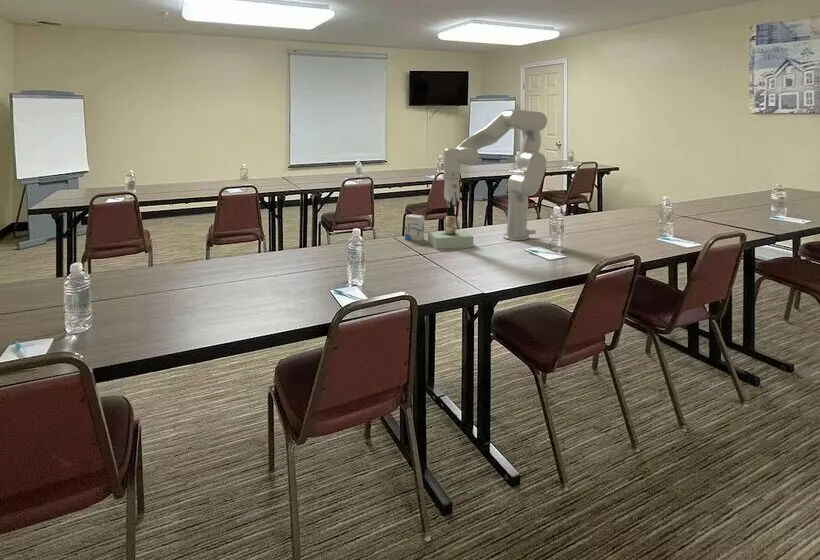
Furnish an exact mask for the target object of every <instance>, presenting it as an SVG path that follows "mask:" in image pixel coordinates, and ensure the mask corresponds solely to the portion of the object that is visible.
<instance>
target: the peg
mask: <svg viewBox="0 0 820 560" xmlns="http://www.w3.org/2000/svg"><path fill="white" fill-rule="evenodd" d="M456 223H457V217H456V216H455V215H454V216H447V215H446V216H445V226H444V227H445V228H444V229H445V230H444V231H445V234H446V235H455V234H456V229H457V226H456V225H457V224H456Z"/></svg>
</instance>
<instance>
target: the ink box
mask: <svg viewBox="0 0 820 560" xmlns="http://www.w3.org/2000/svg"><path fill="white" fill-rule="evenodd" d="M425 217H426V216H425V215H420V214H412V213H410V214H408V215H405V219H404V220H405V221H404V240H408V241H410V240H411V241H416V242H422V241H423V240H424V239H425Z"/></svg>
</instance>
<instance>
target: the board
mask: <svg viewBox="0 0 820 560" xmlns="http://www.w3.org/2000/svg"><path fill="white" fill-rule="evenodd" d="M427 243H428V244H430V245H431V246H432V247H433V248H434V249H435V250H436V249H437V250H438V249H439V250H440V249H455V248H456V249H457V248H460V249H461V248H473V247H474V235H472V234H471V233H469V232H468V231H466V230H465V229H462V230H461V229H460V230H458V229H457V230H456V234H455V235H446V234H445V230H438V231H427Z"/></svg>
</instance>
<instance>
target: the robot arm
mask: <svg viewBox="0 0 820 560" xmlns="http://www.w3.org/2000/svg"><path fill="white" fill-rule="evenodd" d="M547 124H548V118H547V116H546V115H545V113H543V112H542V111H531V110H525V109H524V110H523V109H504V110H503V111H502V112H501V113H499V114H498V115H497V116H496V117H495V118H493V120H492V121H490V122H488V124H487V125H486V126H484V128H481V129H480V130H478V131H477V132H476V133H474V134H472V135H470V136H469V137H467V138H466V139H464V140H463V141H462V142H461V144H459V145H457V147H447V148H444V151H443V180H444V188H443V198H444V200H445V201H446V217H447V216H454V217H455V208H456V205H457V204H456V202H460V200H461V199H460V196H461V195H460V180H461V179H460V178H461V165H469V166H471V165H474V164H476V163H477V162H478V161H479V158H480V155H479V152H478V151H479V150H480V149H482V148H485V147H489V146H492V145H493V144H496V143H497V142H498V141H499V140H500V139H502V138H503V137H504V136H505V134H507V133H508V132H510V130H520V131H521V133H522V134H521V135H522V143H521V146H520V150H519V153H518V156H517V160H516V167H517V168H518V169H519V171H522V172H525V173H521V172H517V173H513V174H511V175H510V176H509V178H508V180H507V192H508V194H507V195H508V200H507V202H508V203H507V204H508V206H507V218H506V219H507V221H506V226H507V227H506V233H504V234H503V236H502V237H503V239H505V240H509V241H526V239H527V240H528V239H530V235H535V234H536V233H537V232H536V230H535V229H532V230H531V229H528V228H527V225H528V213H529V212H528V211H529V198H528V197H530V196H531V197H532V196H534V195H536V194H537V193H538V192H539V190H540V187H541V184H542V183H543V178H544V175H545V172H546V168H547V159H546V156H545V154H543V153H542V152H539V151H540V148H541V144H542V136H541V131H543V130H544V129H545V128H546V126H547Z"/></svg>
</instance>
